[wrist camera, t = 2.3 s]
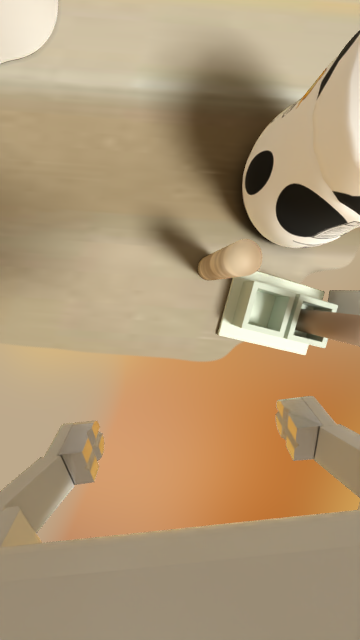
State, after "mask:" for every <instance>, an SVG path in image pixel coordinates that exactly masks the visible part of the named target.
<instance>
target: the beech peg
mask: <svg viewBox="0 0 360 640" xmlns="http://www.w3.org/2000/svg"><path fill="white" fill-rule="evenodd" d="M261 263H262V252H261V249H260V247H259V246H258V244H257V243H256V242H254V241H252V240H250V239H242V240H239V241H237V242H235V243H233V244H231V245H229V246H227V247H224V248H222V249H220V250H218V251H216V252H214V253H212V254H210V255H208V256H206V257H204V258H202V259H201V260H200V262H199V264H198V273H199V275H200V276H201V277H202V278H203V279H205V280H217V279H225V278H233V277H241V276H249V275H252V274H254V273H255V272H256V271H257V270H258V269H259V267H260V265H261Z"/></svg>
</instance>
